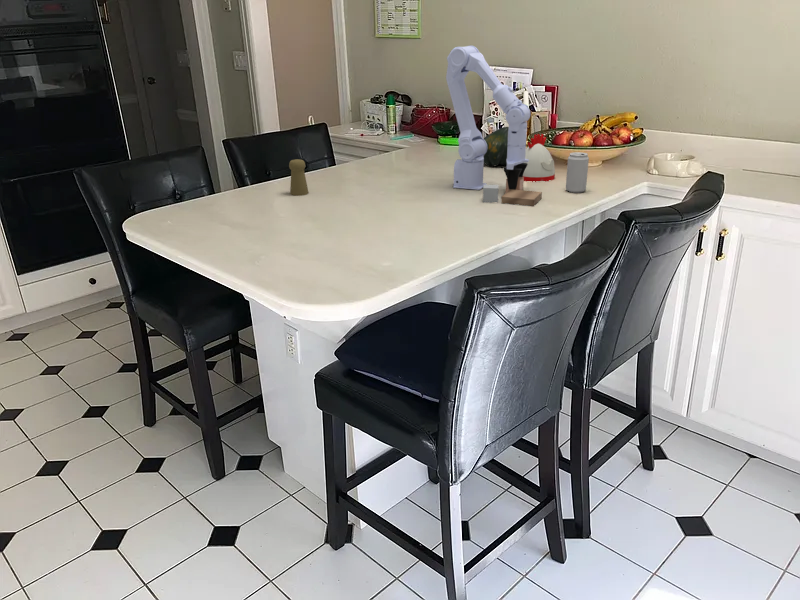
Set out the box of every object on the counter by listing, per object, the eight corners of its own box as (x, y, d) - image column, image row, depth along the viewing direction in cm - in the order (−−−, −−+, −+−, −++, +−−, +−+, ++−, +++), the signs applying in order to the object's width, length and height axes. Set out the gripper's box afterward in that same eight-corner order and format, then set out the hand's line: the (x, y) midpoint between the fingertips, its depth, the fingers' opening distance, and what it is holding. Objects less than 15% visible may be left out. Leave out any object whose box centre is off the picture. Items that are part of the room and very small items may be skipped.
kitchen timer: (563, 178, 228) (566, 134, 222) (534, 184, 221) (537, 139, 215) (534, 171, 239) (536, 129, 233) (506, 177, 232) (508, 133, 226)
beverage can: (586, 193, 207) (590, 155, 203) (565, 193, 209) (568, 155, 204) (585, 189, 213) (588, 151, 208) (565, 188, 214) (568, 151, 210)
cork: (312, 192, 216) (309, 158, 211) (302, 196, 211) (299, 162, 206) (296, 190, 218) (294, 157, 214) (286, 194, 213) (283, 160, 209)
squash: (466, 150, 250) (490, 122, 240) (488, 146, 260) (511, 119, 250) (488, 178, 247) (513, 151, 237) (509, 173, 257) (534, 147, 247)
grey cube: (482, 202, 200) (483, 188, 198) (483, 198, 204) (483, 184, 202) (497, 202, 199) (498, 188, 198) (498, 199, 203) (498, 184, 202)
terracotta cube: (505, 193, 210) (506, 179, 208) (509, 189, 214) (510, 176, 212) (519, 194, 208) (520, 180, 207) (522, 190, 212) (523, 177, 210)
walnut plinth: (501, 203, 199) (501, 196, 198) (510, 195, 207) (510, 189, 206) (533, 206, 195) (534, 199, 194) (541, 198, 203) (541, 191, 202)
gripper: (523, 149, 198) (521, 193, 203) (534, 141, 210) (532, 183, 215) (500, 148, 200) (498, 191, 206) (513, 140, 212) (511, 182, 218)
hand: (514, 187), depth 210 cm, fingers closed on terracotta cube, 4 cm apart
